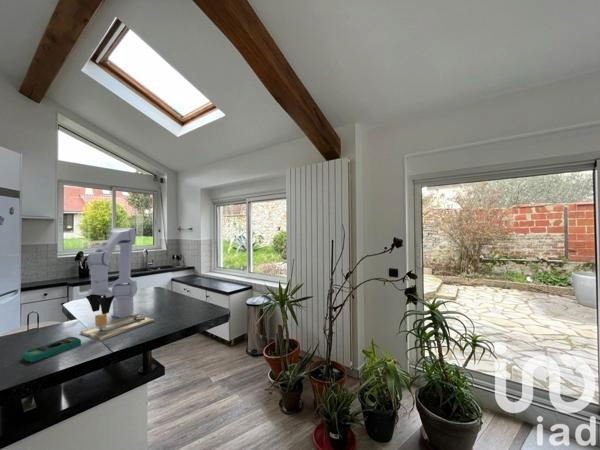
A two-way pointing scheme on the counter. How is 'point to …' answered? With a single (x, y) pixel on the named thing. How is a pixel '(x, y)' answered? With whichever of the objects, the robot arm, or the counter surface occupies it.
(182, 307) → the counter surface
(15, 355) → the counter surface
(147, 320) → the hole gauge board
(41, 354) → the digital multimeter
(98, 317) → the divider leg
